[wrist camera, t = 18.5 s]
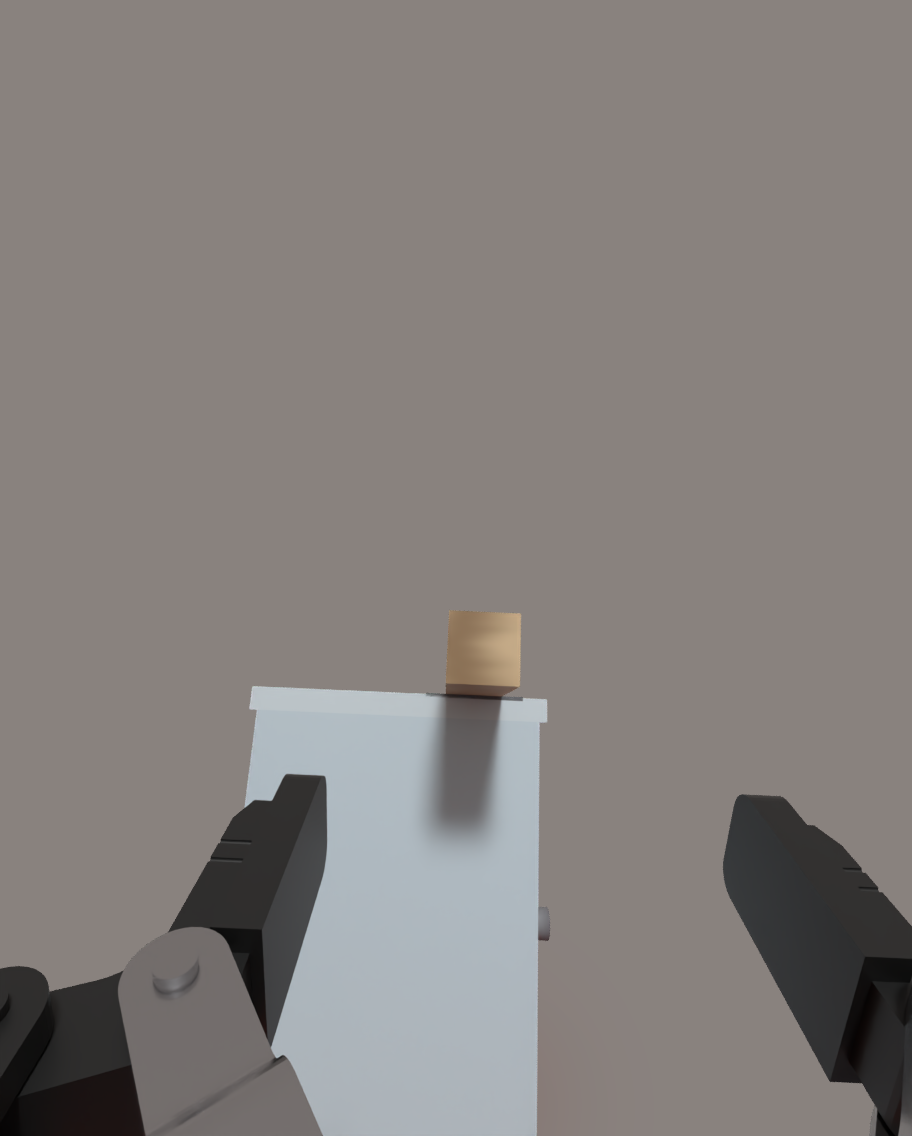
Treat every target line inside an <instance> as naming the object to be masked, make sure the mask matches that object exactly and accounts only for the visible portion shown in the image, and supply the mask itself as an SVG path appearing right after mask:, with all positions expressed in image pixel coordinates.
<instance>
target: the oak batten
mask: <svg viewBox="0 0 912 1136" xmlns="http://www.w3.org/2000/svg"><path fill="white" fill-rule="evenodd" d="M520 645H521V614H517V613H495V612H472V611H471V612H470V611H451V610H450V611H449V628H448V649H447V671H446V694H459V695H481V696H503V695H505V694H507V693H509V692H511V691H513V690H515V689H517V688H518V687H520V647H521V646H520Z"/></svg>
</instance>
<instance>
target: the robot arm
mask: <svg viewBox="0 0 912 1136" xmlns="http://www.w3.org/2000/svg"><path fill="white" fill-rule="evenodd" d="M326 855H327V786H326V778H325V776H323V775H302V774H286V775H285V776H284V777H283V779H282V781H281V783H280V785H279V787H278V789H277V791H276V793H275V796H274V798H273V800H272V801H267V800H254V801H252V802H251V803H250V804H249V805H248V806H246V807H245V808H244V809H243V810H242V811H240V812H239V813H238V814H237V815H236V816H234V817H233V819H232V821H231V822H230V824H229V826H228V827H227V829H226V831H225V833H224V835H223V836H222V838H221V842H220V843H219V844H218V845H217V847H216V849H215V850H214V852H213V854H212V856H211V860H210V862H208V863H207V865H206V866H205V868H204V870H203V872H202V873H201V875H200V877H199V879H198V881H197V882H196V884H195V886H194V887H193V889H192V891H191V893H190V894H189V896H188V898H187V900H186V902H185V903H184V905H183V907H182V909H181V911H180V912H179V914H178V916H177V917H176V919H175V921H174V923H173V924H172V926H171V928H170V930H169V932H168V933H166V934H164V935H162V936H160V937H158V938H156V939H155V940H153V941H151V942H150V943H148V944H147V945H146V946H145V947H143V948H142V949H141V950H140V951H139V952H138V953H137V954H136V955H135V956H134V957H133V958H132V959H131V960H130V962H129V963H128V964H127V966H126V968H125V969H124V971H122V972H120V973H117V974H115V975H113V976H110V977H107V978H104V979H100V980H97V981H93V982H88V983H84V984H80V985H76V986H72V987H67V988H63V989H59V990H55V991H51V992H49V986H48V982H47V980H46V978H45V976H44V975H43V974H42V973H41V972H39V971H37V970H36V969H33V968H29V967H20V966H16V967H7V968H2V969H0V1136H323V1134H322V1132H321V1130H320V1128H319V1125H318V1123H317V1121H316V1118H315V1116H314V1114H313V1111H312V1109H311V1107H310V1104H309V1102H308V1100H307V1098H306V1095H305V1093H304V1091H303V1088H302V1086H301V1084H300V1081H299V1079H298V1077H297V1075H296V1072H295V1070H294V1068H293V1066H292V1065H291V1063H290V1061H289V1060H288V1058H287V1057H286V1056H284V1055H281V1056H280V1057H278V1058H276V1057H275V1055H274V1054H273V1052H272V1049H271V1046H272V1043H273V1040H274V1036H275V1033H276V1030H277V1027H278V1023H279V1020H280V1017H281V1013H282V1010H283V1007H284V1003H285V1000H286V997H287V994H288V990H289V987H290V984H291V980H292V977H293V974H294V970H295V967H296V964H297V961H298V957H299V954H300V951H301V947H302V944H303V941H304V937H305V934H306V931H307V928H308V924H309V921H310V918H311V914H312V911H313V908H314V904H315V901H316V898H317V895H318V891H319V888H320V885H321V881H322V878H323V874H324V869H325V863H326ZM723 873H724V880H725V885H726V888H727V892H728V894H729V896H730V899H731V900H732V902H733V904H734V906H735V908H736V910H737V912H738V913H739V915H740V917H741V919H742V921H743V922H744V925H745V926H746V928H747V930H748V932H749V934H750V936H751V937H752V939H753V941H754V943H755V945H756V946H757V948H758V950H759V952H760V954H761V956H762V958H763V960H764V961H765V963H766V965H767V967H768V969H769V970H770V972H771V974H772V976H773V978H774V980H775V982H776V983H777V985H778V987H779V989H780V991H781V993H782V995H783V996H784V998H785V1000H786V1002H787V1004H788V1006H789V1007H790V1009H791V1011H792V1013H793V1015H794V1017H795V1018H796V1020H797V1022H798V1024H799V1025H800V1028H801V1030H802V1031H803V1033H804V1035H805V1037H806V1038H807V1041H808V1042H809V1044H810V1046H811V1048H812V1050H813V1052H814V1053H815V1055H816V1057H817V1059H818V1061H819V1063H820V1064H821V1066H822V1068H823V1070H824V1072H825V1074H826V1076H827V1077H828V1079H829V1081H830V1082H847V1083H848V1082H849V1083H862V1084H863V1085H864V1087H865V1089H866V1091H867V1092H868V1094H869V1096H870V1098H871V1099H872V1101H873V1102H874V1104H875V1105H874V1109H873V1112H872V1116H871V1123H870V1134H869V1136H912V926H911V925H910V924H909V923H908V922H907V920H906V919H905V918H904V917H903V916H902V915H901V914H900V912H899V911H898V910H897V909H896V908H895V906H894V905H893V904H892V903H891V902H890V901H889V900H888V898H887V897H886V896H885V895H884V894H883V893H882V892H879V891H878V887H877V886H876V885H875V883H873V881H872V880H871V879H870V878H869V876H868V875H867V874H866V873H862V870H861V867H860V866H859V865H858V864H857V862H856V861H855V860H854V859H853V858H852V857H851V856H850V855H849V853H848V852H847V851H846V850H845V849H844V847H843V846H842V845H840V844H839V843H837V842H836V841H835V840H833V839H832V838H830V837H829V836H828V835H827V834H825V833H824V832H822V831H821V830H820V829H818V828H817V827H815V826H813V825H812V826H811V825H807V824H806V823H805V822H804V821H803V820H802V818H801V817H800V816H799V815H798V814H797V812H796V811H795V810H794V809H793V807H792V806H791V805H790V804H789V803H788V801H787V800H786V799H784V798H783V797H781V796H762V795H739V796H738V797H737V799H736V801H735V804H734V809H733V814H732V819H731V824H730V830H729V835H728V840H727V845H726V851H725V855H724V861H723Z"/></svg>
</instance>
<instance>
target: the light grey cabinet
mask: <svg viewBox="0 0 912 1136" xmlns="http://www.w3.org/2000/svg"><path fill="white" fill-rule="evenodd" d="M250 709H253V710H257V714H256V721H255V729H254V738H253V746H252V753H251V762H250V769H249V777H248V785H247V793H246V801H245V807H246V806H248V805H249V804H250V803H251V802H252V801H254V800H267V801H272V800H273V798H274V796H275V793H276V791H277V789H278V787H279V785H280V783H281V781H282V779H283V777H284V776H285V775H286V774H302V775H323V776H325V778H326V786H327V855H326V863H325V869H324V874H323V878H322V881H321V885H320V888H319V891H318V895H317V898H316V901H315V904H314V908H313V911H312V914H311V918H310V921H309V924H308V928H307V931H306V934H305V937H304V941H303V944H302V947H301V951H300V954H299V957H298V961H297V964H296V967H295V970H294V974H293V977H292V980H291V984H290V987H289V990H288V994H287V997H286V1000H285V1003H284V1007H283V1010H282V1013H281V1017H280V1020H279V1023H278V1027H277V1030H276V1033H275V1036H274V1040H273V1043H272V1046H271V1049H272V1052H273V1054H274V1055H275V1057H276V1058H278V1057H280V1056H281V1055H284V1056H286V1057H287V1058H288V1060H289V1061H290V1063H291V1065H292V1066H293V1068H294V1070H295V1072H296V1075H297V1077H298V1079H299V1081H300V1084H301V1086H302V1088H303V1091H304V1093H305V1095H306V1098H307V1100H308V1102H309V1104H310V1107H311V1109H312V1111H313V1114H314V1116H315V1118H316V1121H317V1123H318V1125H319V1128H320V1130H321V1132H322V1134H323V1136H537V1018H538V1017H537V1016H538V1015H537V1014H538V1009H537V1008H538V940H545V941H548V940H549V936H550V920H549V919H550V918H549V911H548V908H547V907H538V865H539V864H538V862H539V861H538V860H539V859H538V857H539V723H546V722H547V699H527V698H526V699H525V698H523V697H503V696H481V695H459V694H436V693H426V694H415V693H393V692H370V691H348V690H326V689H325V690H324V689H302V688H281V687H259V686H258V687H257V686H253V687H252V693H251V701H250Z"/></svg>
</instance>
